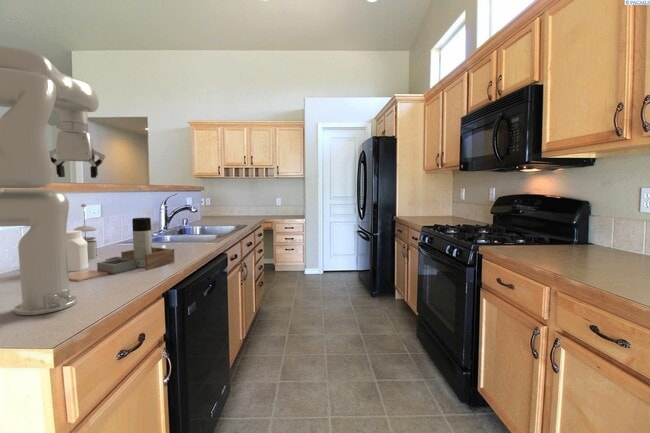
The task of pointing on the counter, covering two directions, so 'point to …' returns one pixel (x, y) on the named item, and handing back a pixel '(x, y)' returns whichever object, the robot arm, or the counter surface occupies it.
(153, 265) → the cubby
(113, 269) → the bin
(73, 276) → the pad
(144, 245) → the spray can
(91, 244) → the french press
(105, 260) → the crook
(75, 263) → the jar
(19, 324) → the counter surface
